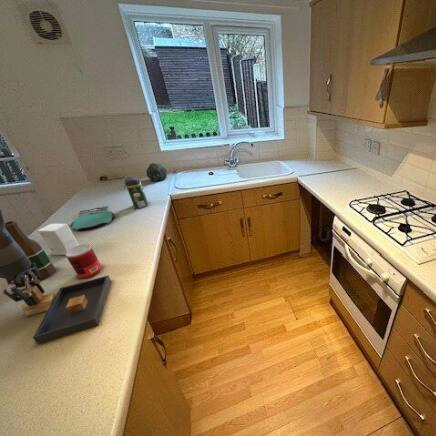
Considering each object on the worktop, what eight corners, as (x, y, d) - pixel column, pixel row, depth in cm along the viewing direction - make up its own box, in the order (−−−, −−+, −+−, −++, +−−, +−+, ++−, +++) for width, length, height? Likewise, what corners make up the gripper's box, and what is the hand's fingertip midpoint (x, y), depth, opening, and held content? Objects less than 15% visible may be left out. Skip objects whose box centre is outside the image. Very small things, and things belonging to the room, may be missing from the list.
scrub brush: (27, 315, 78) (12, 297, 74) (33, 307, 81) (18, 288, 77) (54, 308, 81) (41, 289, 77) (58, 300, 84) (46, 281, 80)
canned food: (104, 263, 101) (93, 242, 96) (98, 275, 94) (86, 253, 89) (83, 268, 99) (70, 246, 93) (75, 281, 92) (61, 258, 87)
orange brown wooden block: (69, 314, 78) (65, 307, 76) (73, 305, 81) (69, 298, 79) (84, 309, 79) (80, 303, 78) (88, 301, 82) (84, 294, 81)
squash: (167, 168, 205) (150, 158, 194) (172, 173, 195) (155, 162, 184) (157, 182, 204) (139, 172, 192) (162, 187, 194) (144, 177, 183)
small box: (81, 247, 112) (67, 223, 106) (68, 255, 107) (54, 231, 101) (65, 246, 113) (51, 223, 107) (52, 255, 108) (36, 230, 101)
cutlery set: (69, 235, 122) (67, 231, 121) (76, 213, 145) (75, 210, 144) (115, 224, 132) (113, 220, 130) (115, 205, 154) (114, 202, 153)
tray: (38, 344, 69) (32, 338, 68) (64, 294, 86) (60, 287, 85) (98, 325, 74) (94, 318, 73) (111, 281, 92) (108, 275, 90)
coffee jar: (134, 204, 155) (124, 176, 146) (148, 201, 158) (138, 174, 149) (133, 209, 147) (122, 181, 138) (148, 206, 150) (138, 178, 142)
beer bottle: (35, 271, 98) (-1, 220, 86) (59, 265, 101) (27, 215, 89) (27, 283, 92) (-13, 230, 80) (53, 276, 95) (18, 224, 83)
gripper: (2, 248, 75) (32, 288, 84) (-27, 277, 64) (11, 319, 72) (33, 242, 78) (59, 281, 86) (10, 268, 66) (42, 311, 75)
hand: (37, 298), depth 79 cm, fingers open, 4 cm apart
